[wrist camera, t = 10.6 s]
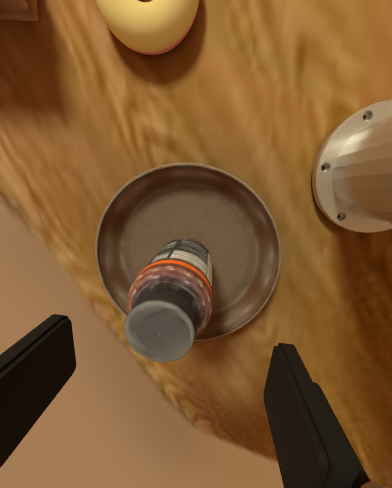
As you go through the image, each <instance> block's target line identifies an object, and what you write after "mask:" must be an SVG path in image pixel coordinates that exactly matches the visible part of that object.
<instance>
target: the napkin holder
mask: <svg viewBox="0 0 392 488" xmlns="http://www.w3.org/2000/svg"><path fill="white" fill-rule="evenodd" d="M0 20H12V21H34V22H39V15H38V6H37V0H0Z"/></svg>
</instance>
